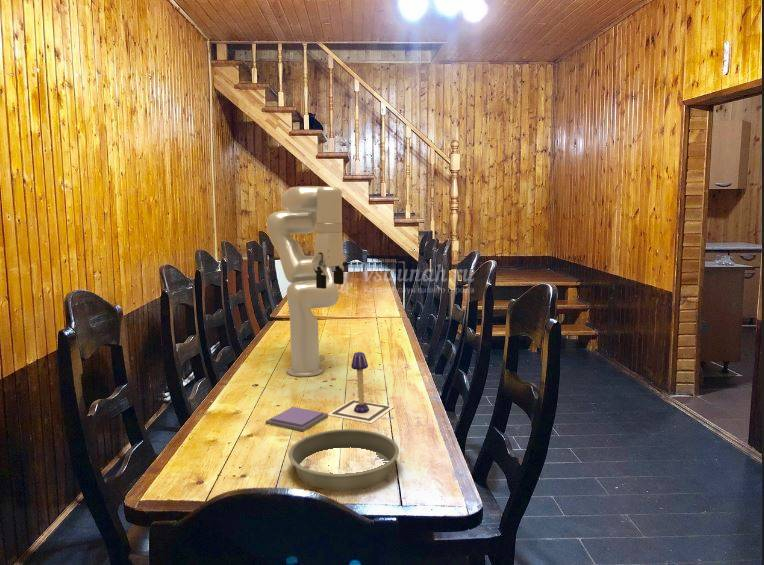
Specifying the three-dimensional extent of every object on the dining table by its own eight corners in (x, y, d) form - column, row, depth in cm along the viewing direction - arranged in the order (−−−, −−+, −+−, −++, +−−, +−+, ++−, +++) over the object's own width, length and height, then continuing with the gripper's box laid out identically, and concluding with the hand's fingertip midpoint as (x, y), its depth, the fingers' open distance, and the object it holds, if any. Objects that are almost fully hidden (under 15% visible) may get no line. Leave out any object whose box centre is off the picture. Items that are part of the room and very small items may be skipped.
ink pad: (292, 409, 173) (292, 405, 173) (328, 416, 168) (327, 411, 168) (265, 423, 163) (265, 418, 162) (303, 431, 157) (303, 426, 157)
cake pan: (320, 440, 152) (320, 423, 152) (413, 455, 144) (413, 437, 143) (267, 483, 130) (266, 463, 129) (374, 504, 121) (374, 483, 120)
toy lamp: (354, 414, 169) (353, 356, 166) (350, 408, 173) (349, 351, 171) (370, 412, 170) (370, 354, 168) (366, 406, 175) (365, 350, 172)
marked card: (352, 400, 181) (352, 398, 181) (394, 407, 175) (394, 406, 175) (326, 415, 169) (326, 413, 169) (371, 423, 163) (371, 422, 163)
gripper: (333, 227, 190) (334, 281, 193) (302, 230, 175) (303, 289, 177) (354, 227, 187) (355, 283, 189) (324, 230, 172) (325, 291, 174)
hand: (330, 286), depth 183 cm, fingers open, 9 cm apart
